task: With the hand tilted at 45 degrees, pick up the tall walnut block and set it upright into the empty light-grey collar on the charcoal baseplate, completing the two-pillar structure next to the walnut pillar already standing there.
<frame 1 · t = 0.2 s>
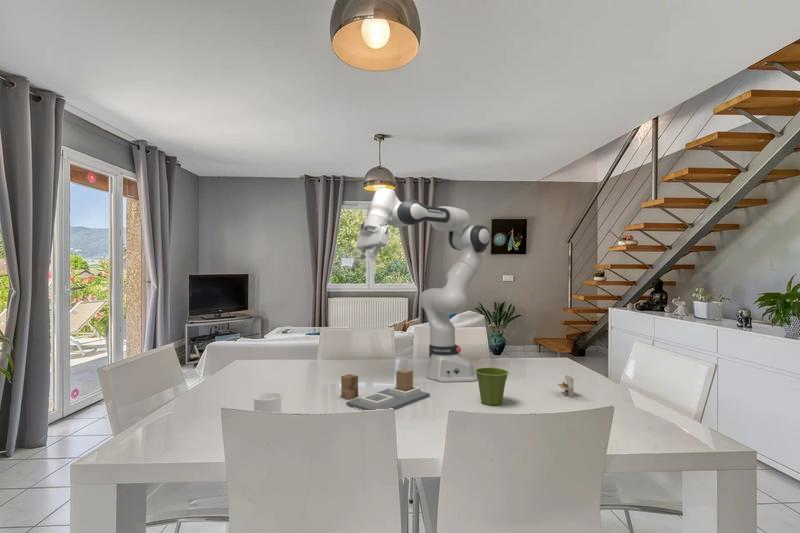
hand: (367, 258, 165), 52 cm above the table, tool tilted 20°, fingers open, 8 cm apart
architectural model: (568, 397, 156), on the table
baseplate: (389, 400, 151), on the table
white cup: (267, 430, 123), on the table
plant pot: (491, 403, 148), on the table
walnut block: (349, 397, 155), on the table
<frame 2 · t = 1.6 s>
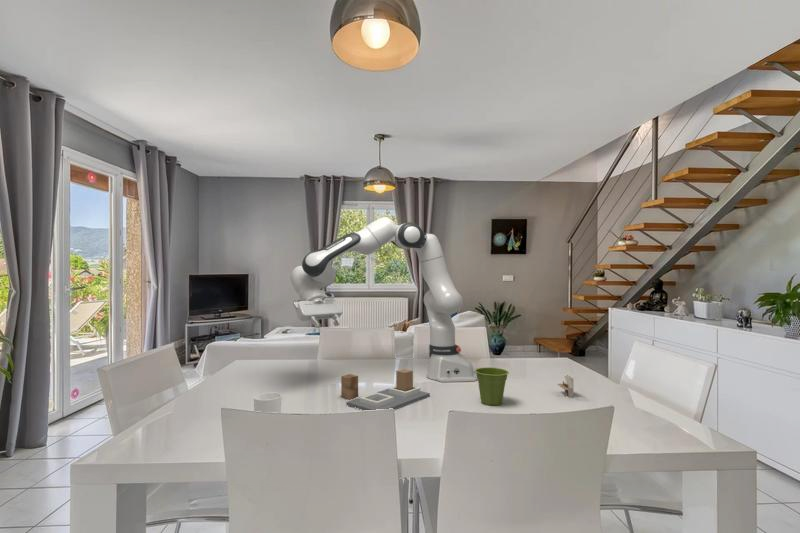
hand: (328, 326, 163), 25 cm above the table, tool tilted 45°, fingers open, 8 cm apart
nothing on the table moved.
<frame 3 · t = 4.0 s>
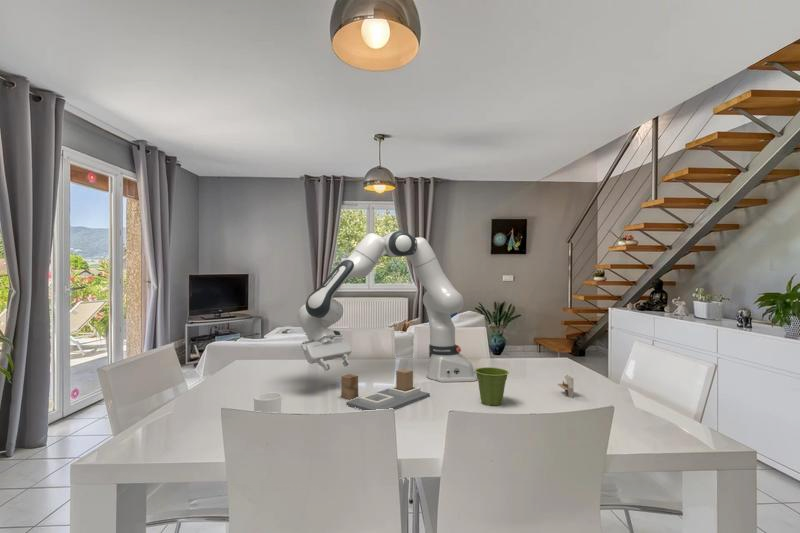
hand: (337, 367, 160), 10 cm above the table, tool tilted 45°, fingers open, 8 cm apart
nothing on the table moved.
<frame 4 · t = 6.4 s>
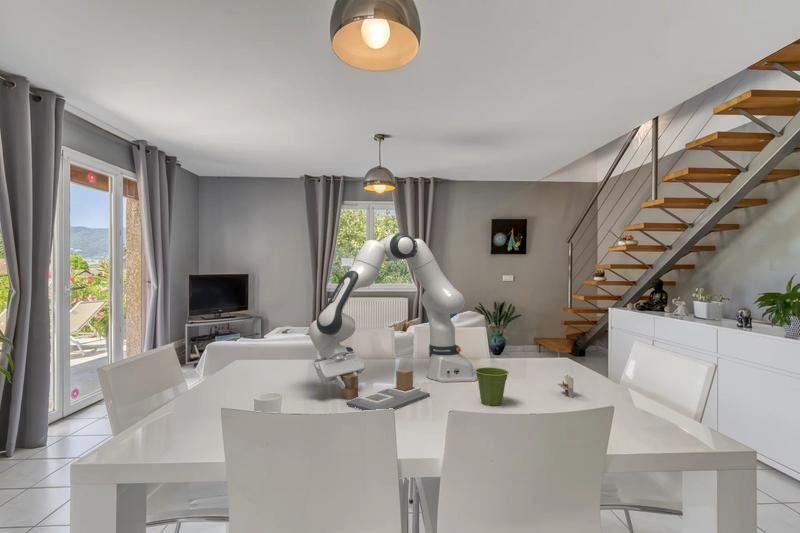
hand: (350, 385, 155), 4 cm above the table, tool tilted 45°, fingers closed on walnut block, 4 cm apart
walnut block: (349, 397, 155), on the table, touching gripper
everything else where it was.
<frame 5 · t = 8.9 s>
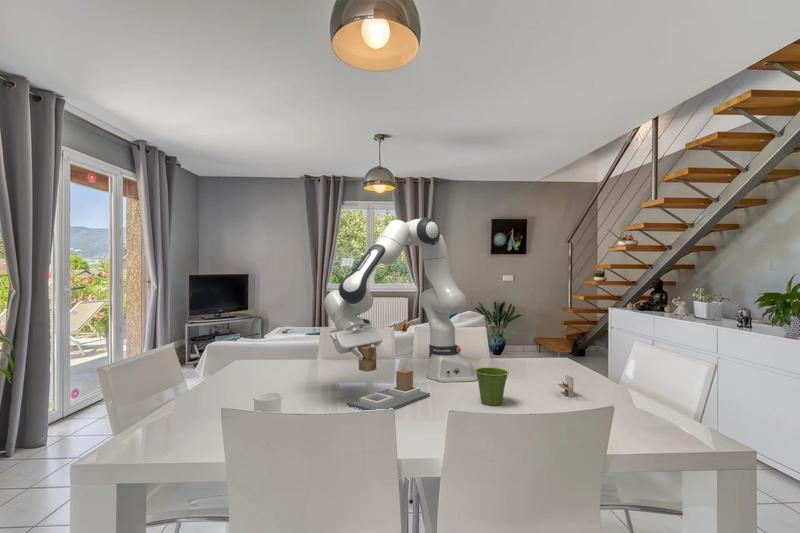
hand: (368, 357, 149), 16 cm above the table, tool tilted 45°, fingers closed on walnut block, 4 cm apart
walnut block: (367, 369, 149), point 12 cm above the table, touching gripper
everything else where it was.
when the fingers open (7 cm above the table, at t = 11.4 s): walnut block drops 1 cm, resting on baseplate.
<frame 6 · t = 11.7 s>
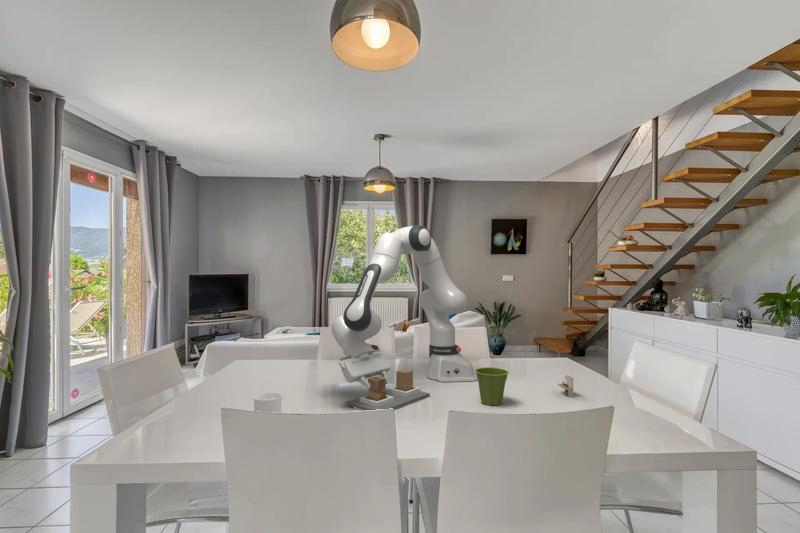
hand: (378, 386, 145), 7 cm above the table, tool tilted 45°, fingers open, 7 cm apart
walnut block: (377, 401, 146), point 1 cm above the table, touching baseplate
everything else where it was.
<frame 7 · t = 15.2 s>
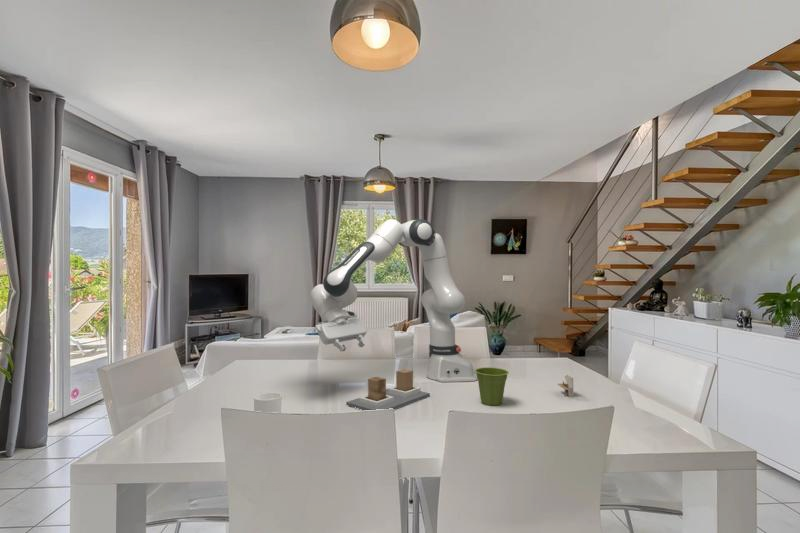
hand: (353, 348, 154), 18 cm above the table, tool tilted 45°, fingers open, 8 cm apart
nothing on the table moved.
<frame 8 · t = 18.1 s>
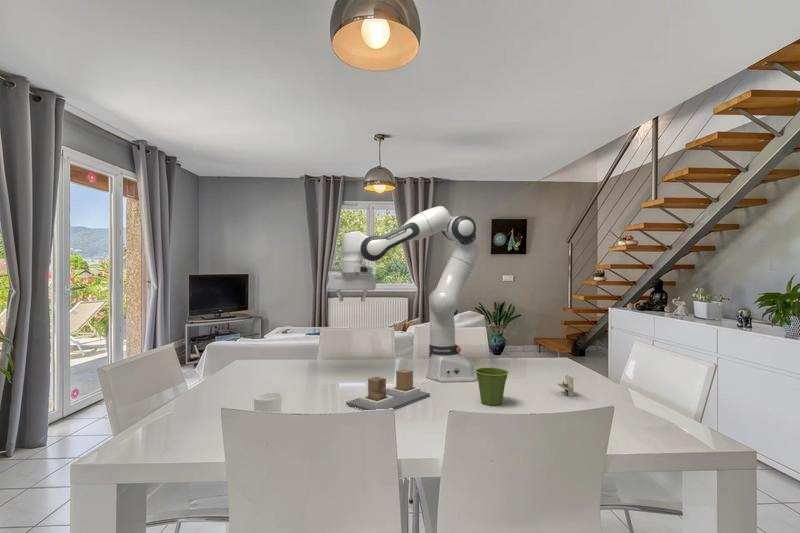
hand: (352, 301, 178), 34 cm above the table, tool pointing down, fingers open, 8 cm apart
nothing on the table moved.
at the end: walnut block 0.1 cm from the target spot on the baseplate, point 1.2 cm above the baseplate's base; walnut block tilted 0°; the gripper is holding nothing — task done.
